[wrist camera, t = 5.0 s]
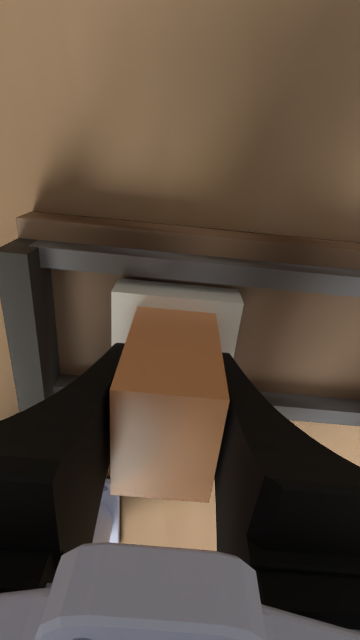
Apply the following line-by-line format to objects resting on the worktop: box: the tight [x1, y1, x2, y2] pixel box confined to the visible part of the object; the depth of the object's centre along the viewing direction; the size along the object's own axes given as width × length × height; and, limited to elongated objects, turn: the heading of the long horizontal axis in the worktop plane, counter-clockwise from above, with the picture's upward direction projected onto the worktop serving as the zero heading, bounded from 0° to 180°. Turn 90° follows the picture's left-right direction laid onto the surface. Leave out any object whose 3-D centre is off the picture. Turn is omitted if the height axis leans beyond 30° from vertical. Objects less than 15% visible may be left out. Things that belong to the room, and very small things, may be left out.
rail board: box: [0, 211, 360, 426], centre depth 15 cm, size 20×9×4 cm, turn 85°
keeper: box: [110, 278, 244, 503], centre depth 12 cm, size 5×5×6 cm
